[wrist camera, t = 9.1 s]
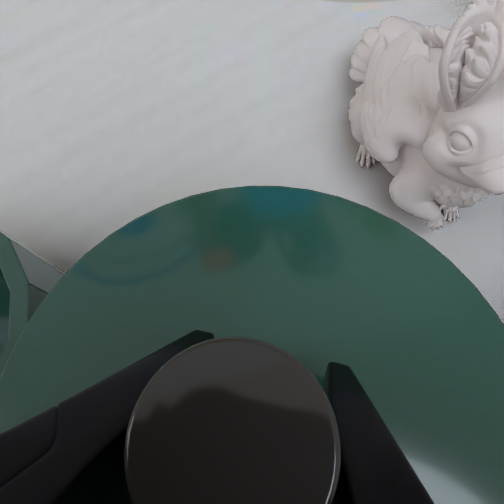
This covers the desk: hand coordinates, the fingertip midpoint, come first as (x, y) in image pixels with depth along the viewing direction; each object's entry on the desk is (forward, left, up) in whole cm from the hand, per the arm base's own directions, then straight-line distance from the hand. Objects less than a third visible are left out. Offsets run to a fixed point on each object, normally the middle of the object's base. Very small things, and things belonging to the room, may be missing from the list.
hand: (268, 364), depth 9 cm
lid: (-1, +1, -2) cm, 2 cm away
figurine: (+1, -17, -14) cm, 22 cm away
